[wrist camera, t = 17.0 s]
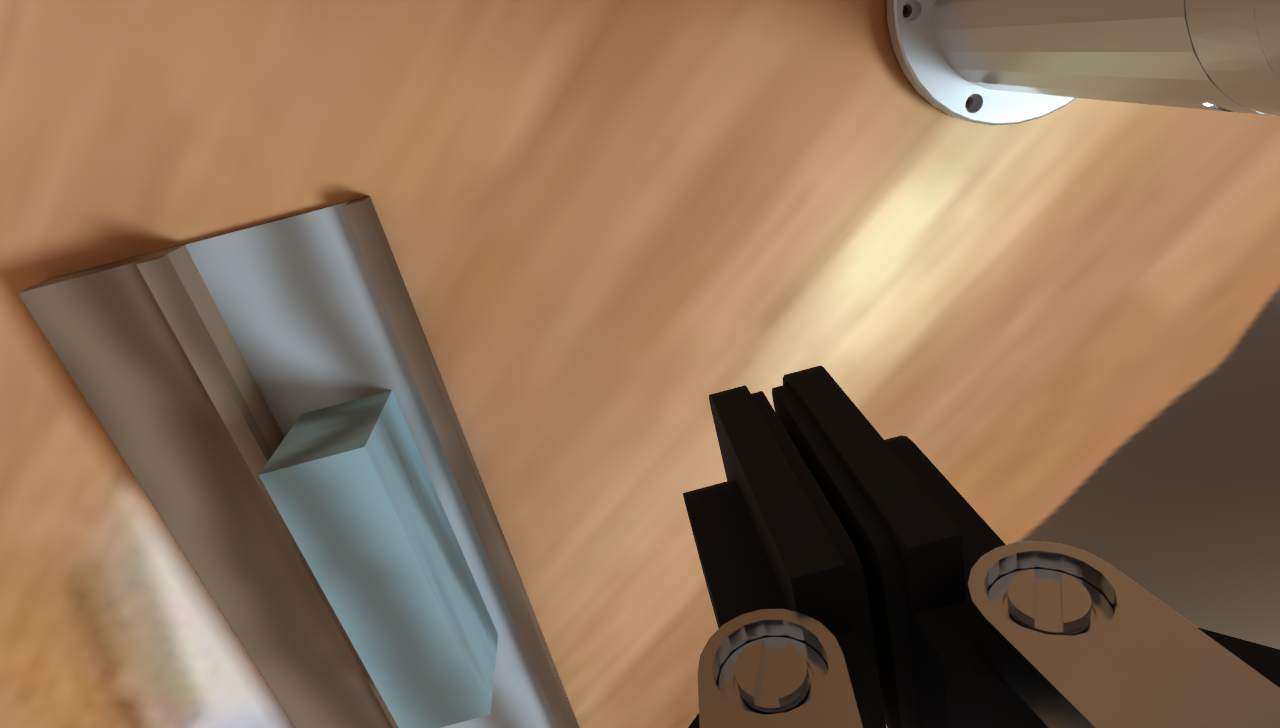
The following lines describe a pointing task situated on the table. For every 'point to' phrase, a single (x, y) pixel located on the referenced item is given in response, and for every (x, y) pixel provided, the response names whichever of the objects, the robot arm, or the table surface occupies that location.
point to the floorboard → (283, 436)
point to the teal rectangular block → (387, 559)
